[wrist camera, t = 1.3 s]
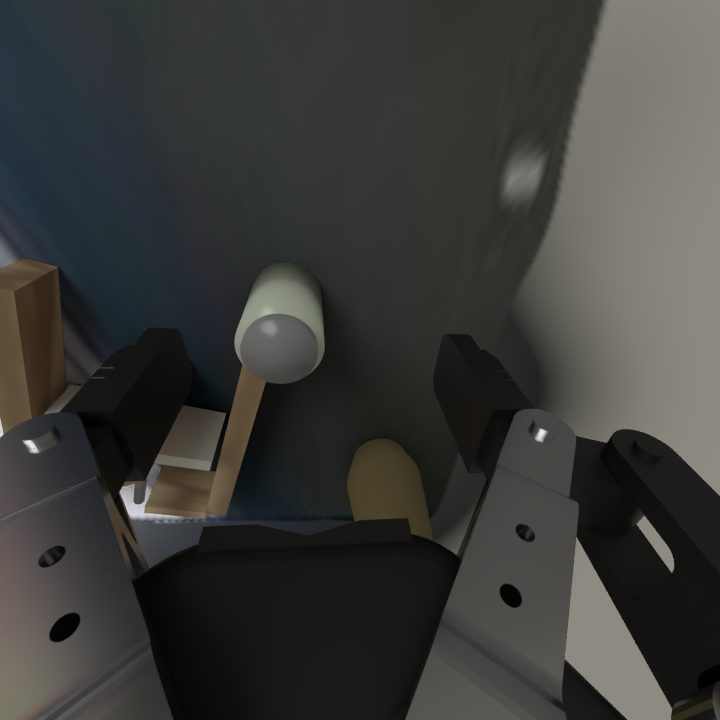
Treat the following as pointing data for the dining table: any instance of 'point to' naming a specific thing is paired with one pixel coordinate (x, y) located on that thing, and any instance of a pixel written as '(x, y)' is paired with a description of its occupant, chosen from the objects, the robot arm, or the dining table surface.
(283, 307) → the sage jar
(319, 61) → the dining table surface
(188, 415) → the pusher plate
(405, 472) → the squeeze bottle
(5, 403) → the lane
